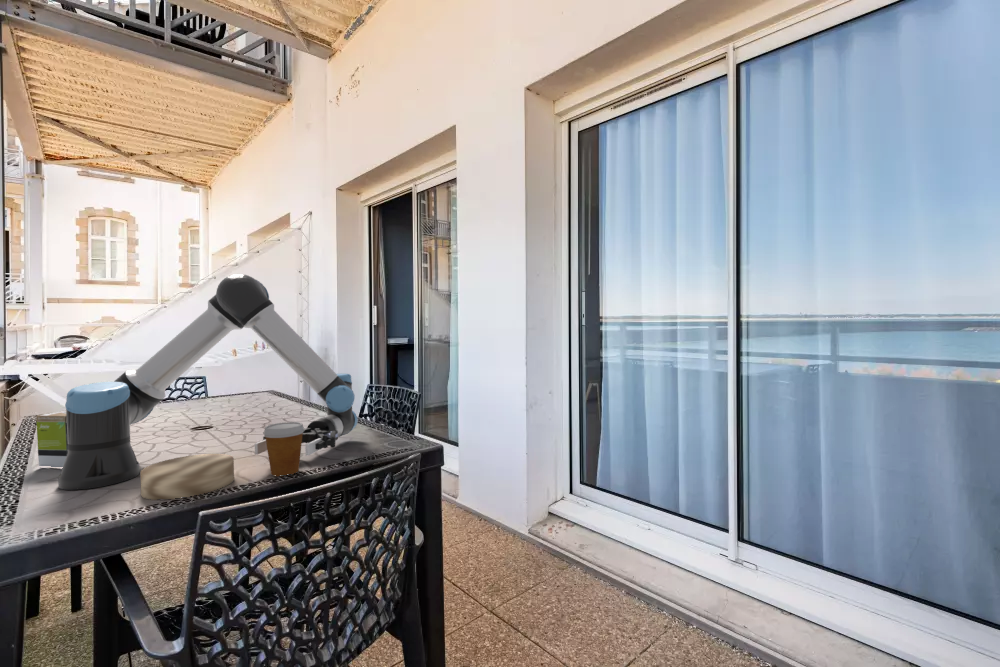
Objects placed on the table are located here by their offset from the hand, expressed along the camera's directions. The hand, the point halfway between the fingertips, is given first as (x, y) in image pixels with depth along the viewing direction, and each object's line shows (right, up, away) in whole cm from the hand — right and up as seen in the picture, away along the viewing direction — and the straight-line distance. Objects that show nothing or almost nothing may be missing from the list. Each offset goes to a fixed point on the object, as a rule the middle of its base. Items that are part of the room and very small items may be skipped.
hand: (281, 449), depth 114 cm
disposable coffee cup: (0, -7, +2) cm, 7 cm away
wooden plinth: (-18, -7, -7) cm, 21 cm away
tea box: (-64, -8, +15) cm, 66 cm away
